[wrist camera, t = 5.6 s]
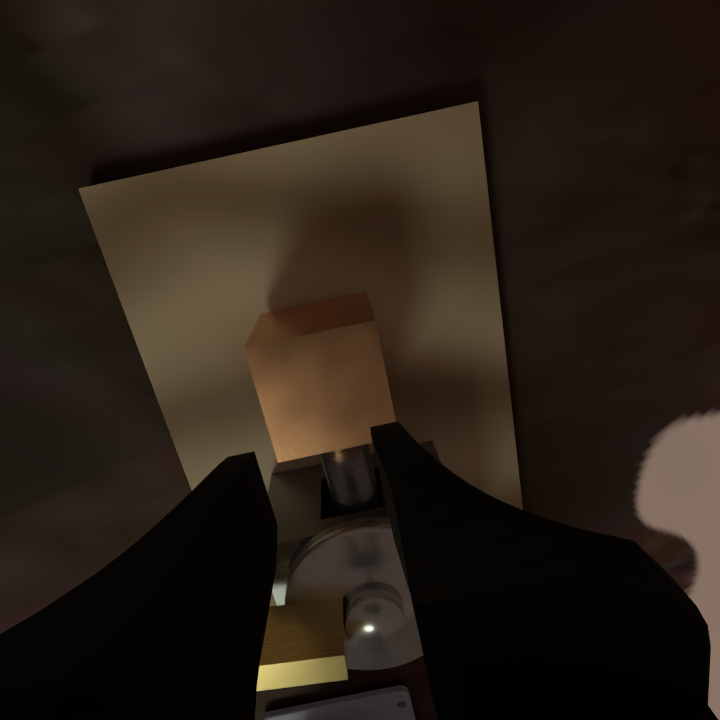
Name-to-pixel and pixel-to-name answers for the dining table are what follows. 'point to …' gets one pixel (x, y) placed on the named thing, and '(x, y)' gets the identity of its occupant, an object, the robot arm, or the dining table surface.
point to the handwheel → (341, 609)
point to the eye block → (309, 512)
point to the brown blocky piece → (324, 390)
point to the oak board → (321, 283)
